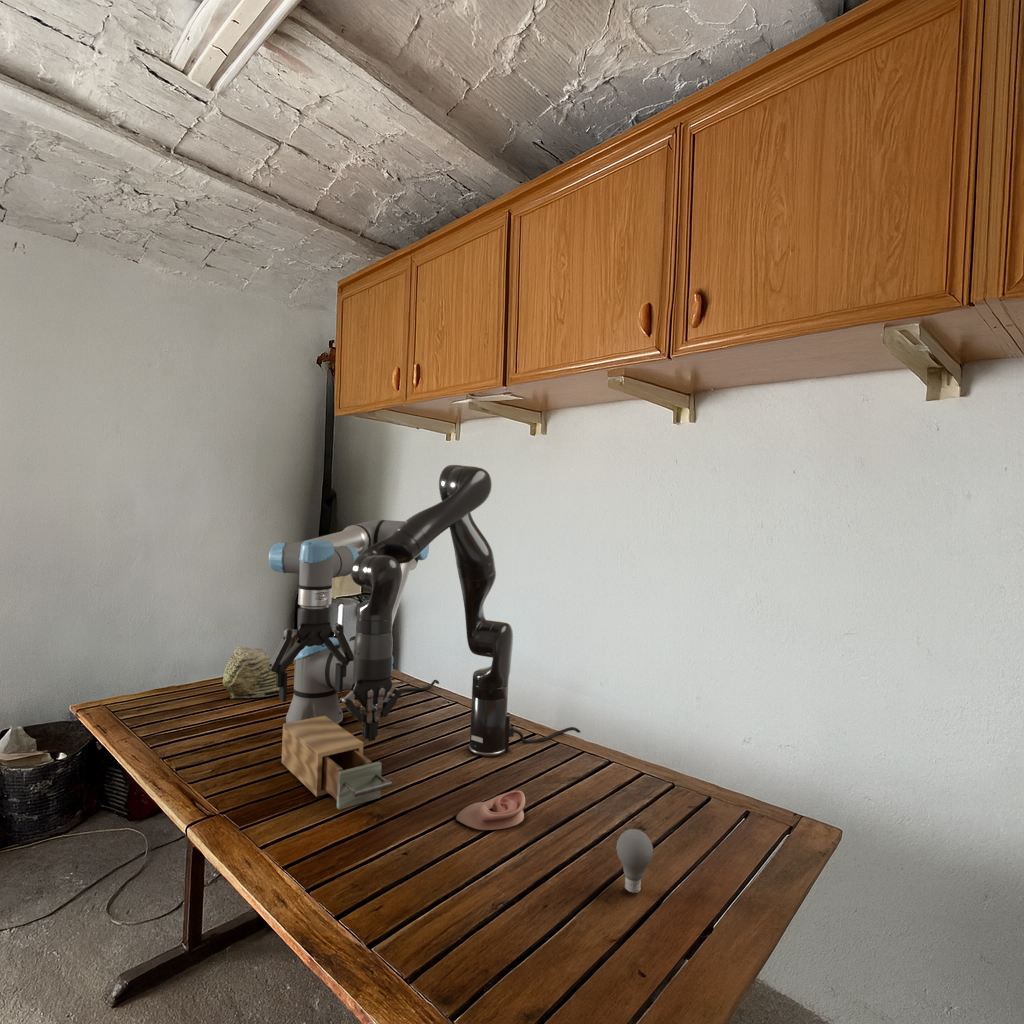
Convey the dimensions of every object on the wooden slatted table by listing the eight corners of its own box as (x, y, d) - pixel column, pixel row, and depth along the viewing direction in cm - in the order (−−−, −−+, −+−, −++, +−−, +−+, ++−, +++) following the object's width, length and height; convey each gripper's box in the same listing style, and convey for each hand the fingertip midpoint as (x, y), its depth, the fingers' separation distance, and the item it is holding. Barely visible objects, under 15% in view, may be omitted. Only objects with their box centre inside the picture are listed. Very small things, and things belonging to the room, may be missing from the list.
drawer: (393, 808, 128) (395, 772, 128) (351, 821, 122) (352, 784, 122) (340, 765, 147) (341, 734, 147) (301, 774, 142) (303, 742, 141)
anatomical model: (452, 805, 124) (467, 780, 135) (451, 826, 124) (467, 799, 135) (518, 815, 121) (529, 789, 132) (517, 836, 121) (528, 808, 132)
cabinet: (361, 784, 140) (363, 742, 140) (316, 796, 134) (318, 753, 133) (323, 753, 156) (325, 715, 156) (281, 762, 150) (282, 723, 149)
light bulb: (610, 879, 108) (613, 822, 108) (644, 879, 109) (647, 822, 109) (619, 902, 102) (622, 840, 102) (655, 901, 103) (658, 840, 103)
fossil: (218, 695, 195) (220, 647, 195) (278, 685, 208) (279, 640, 207) (228, 703, 189) (230, 653, 188) (289, 692, 201) (290, 645, 201)
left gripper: (266, 613, 139) (262, 709, 139) (370, 604, 154) (366, 691, 155) (255, 607, 144) (251, 700, 145) (356, 600, 160) (353, 683, 161)
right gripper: (350, 662, 119) (346, 753, 120) (411, 653, 128) (408, 738, 128) (333, 653, 125) (330, 740, 125) (393, 645, 134) (390, 727, 134)
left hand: (311, 695), depth 150 cm, fingers open, 13 cm apart
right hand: (369, 739), depth 127 cm, fingers closed
